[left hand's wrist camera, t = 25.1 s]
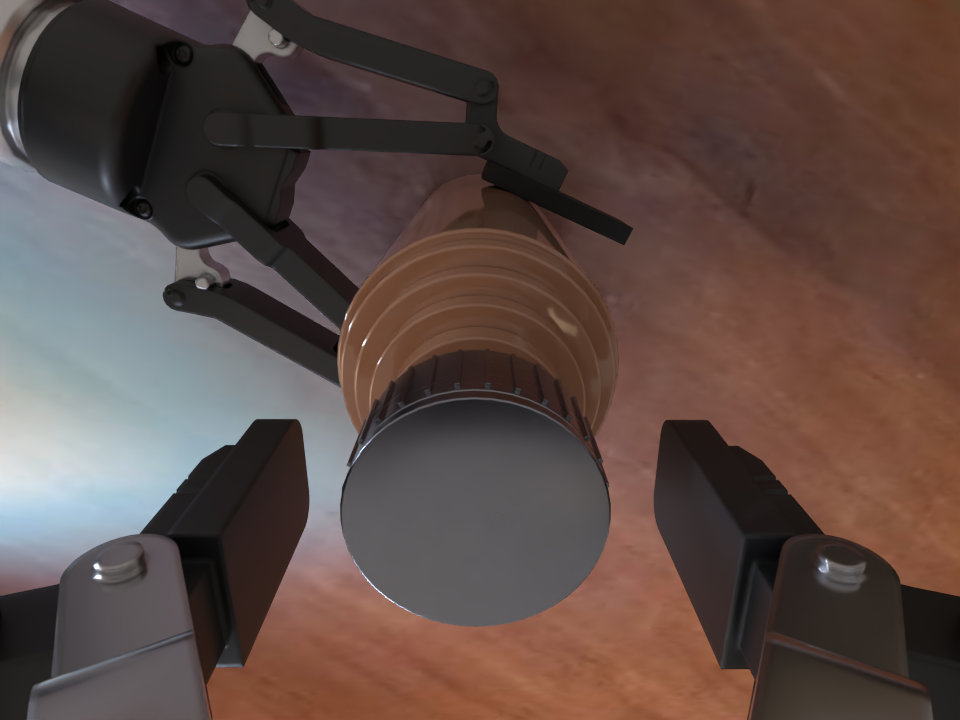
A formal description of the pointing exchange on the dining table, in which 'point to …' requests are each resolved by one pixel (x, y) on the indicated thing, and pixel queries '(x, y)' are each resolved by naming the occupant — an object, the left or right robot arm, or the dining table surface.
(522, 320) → the bottle
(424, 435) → the cap
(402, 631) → the dining table surface
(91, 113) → the right robot arm
